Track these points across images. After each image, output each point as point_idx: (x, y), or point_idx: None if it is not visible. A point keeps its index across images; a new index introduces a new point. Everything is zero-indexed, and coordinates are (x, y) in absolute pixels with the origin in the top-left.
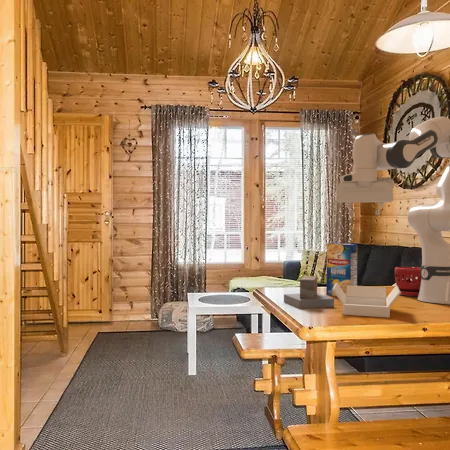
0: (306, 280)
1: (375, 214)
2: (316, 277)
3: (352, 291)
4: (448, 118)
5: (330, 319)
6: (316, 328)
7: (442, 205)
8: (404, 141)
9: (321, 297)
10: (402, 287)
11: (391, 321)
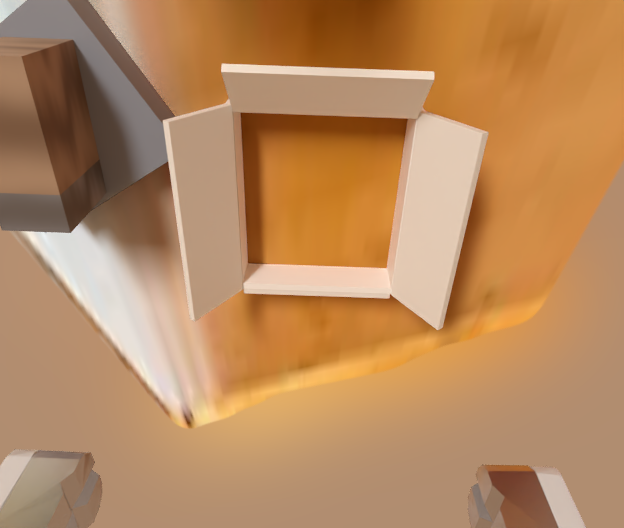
0: (35, 229)
1: (469, 503)
2: (34, 102)
3: (257, 96)
4: None
5: (217, 338)
6: (203, 421)
7: None
8: None
9: (122, 132)
10: None
11: (387, 321)
